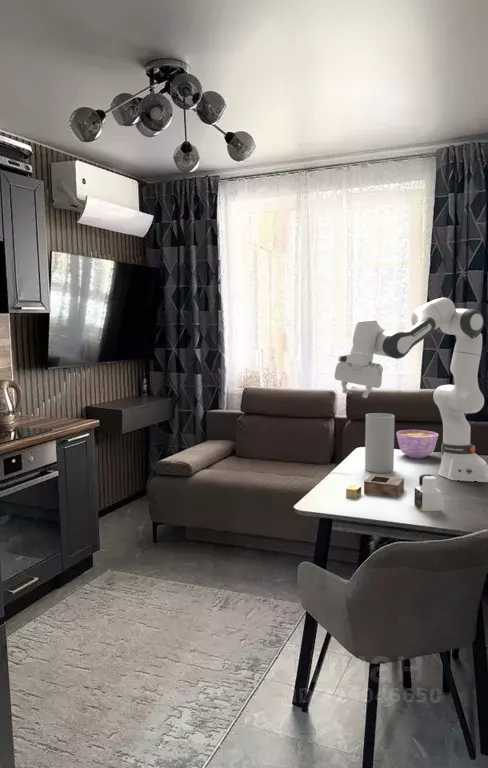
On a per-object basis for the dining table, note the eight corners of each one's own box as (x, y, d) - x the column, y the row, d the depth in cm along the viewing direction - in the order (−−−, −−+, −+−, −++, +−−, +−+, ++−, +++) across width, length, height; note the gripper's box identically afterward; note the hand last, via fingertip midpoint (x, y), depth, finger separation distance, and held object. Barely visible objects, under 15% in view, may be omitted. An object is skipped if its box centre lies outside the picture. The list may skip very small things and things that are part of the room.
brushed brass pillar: (361, 495, 226) (361, 486, 225) (356, 499, 220) (356, 490, 220) (351, 493, 228) (351, 484, 227) (346, 497, 222) (346, 488, 222)
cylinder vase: (383, 465, 271) (384, 412, 268) (398, 472, 259) (400, 416, 256) (359, 468, 267) (360, 414, 264) (374, 474, 255) (375, 418, 253)
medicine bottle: (414, 505, 211) (414, 473, 210) (433, 505, 212) (433, 472, 211) (421, 511, 204) (422, 478, 203) (441, 511, 205) (442, 477, 204)
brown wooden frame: (403, 489, 232) (403, 478, 231) (397, 497, 222) (397, 485, 221) (371, 485, 237) (371, 474, 237) (363, 492, 228) (364, 481, 227)
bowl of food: (387, 454, 295) (388, 431, 294) (420, 450, 302) (421, 428, 301) (412, 462, 277) (412, 438, 276) (446, 458, 284) (447, 435, 283)
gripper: (388, 365, 222) (381, 400, 223) (344, 357, 237) (339, 391, 238) (378, 363, 218) (372, 400, 219) (335, 356, 232) (329, 390, 234)
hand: (354, 395), depth 229 cm, fingers open, 8 cm apart
